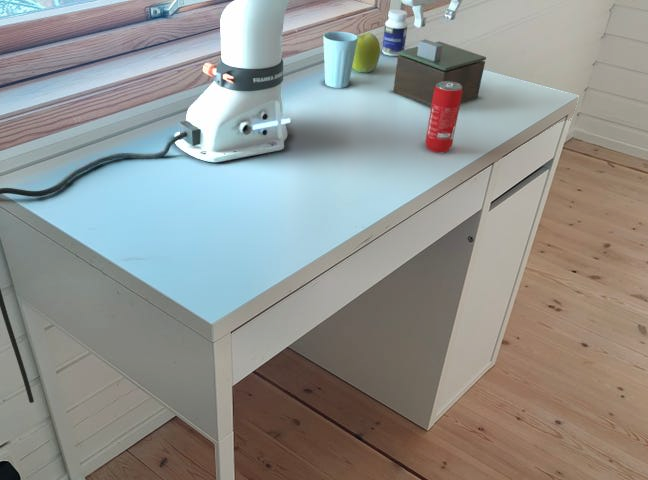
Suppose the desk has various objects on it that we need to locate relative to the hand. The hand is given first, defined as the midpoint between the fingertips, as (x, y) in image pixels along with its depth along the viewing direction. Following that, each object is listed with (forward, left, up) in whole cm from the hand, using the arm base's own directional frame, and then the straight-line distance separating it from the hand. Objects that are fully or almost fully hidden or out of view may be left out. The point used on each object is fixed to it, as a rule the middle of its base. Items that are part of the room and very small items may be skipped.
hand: (434, 23), depth 143 cm
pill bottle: (+18, +27, -16) cm, 36 cm away
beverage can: (-18, -20, -16) cm, 31 cm away
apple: (+2, +22, -16) cm, 27 cm away
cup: (-10, +18, -16) cm, 26 cm away
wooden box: (+4, 0, -16) cm, 16 cm away
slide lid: (+4, 0, -7) cm, 9 cm away
